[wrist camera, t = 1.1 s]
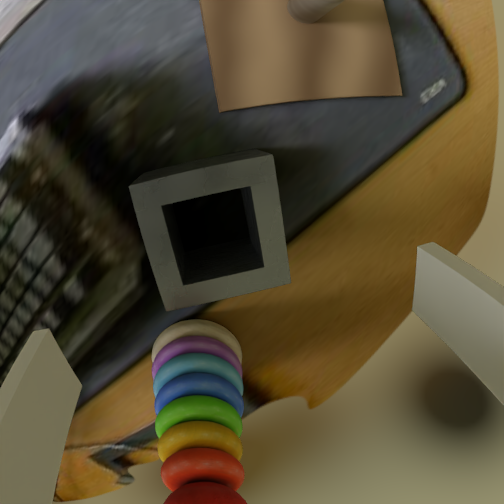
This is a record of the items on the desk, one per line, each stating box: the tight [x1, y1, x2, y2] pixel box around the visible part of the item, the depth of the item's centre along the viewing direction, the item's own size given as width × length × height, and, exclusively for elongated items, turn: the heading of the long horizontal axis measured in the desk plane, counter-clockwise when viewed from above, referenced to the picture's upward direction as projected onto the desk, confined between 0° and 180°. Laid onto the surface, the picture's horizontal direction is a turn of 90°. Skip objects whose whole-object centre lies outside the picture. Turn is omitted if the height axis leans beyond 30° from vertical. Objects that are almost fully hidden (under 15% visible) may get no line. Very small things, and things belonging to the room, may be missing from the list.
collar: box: [129, 149, 291, 311], centre depth 21 cm, size 8×8×6 cm
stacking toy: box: [152, 319, 247, 504], centre depth 19 cm, size 8×8×19 cm
